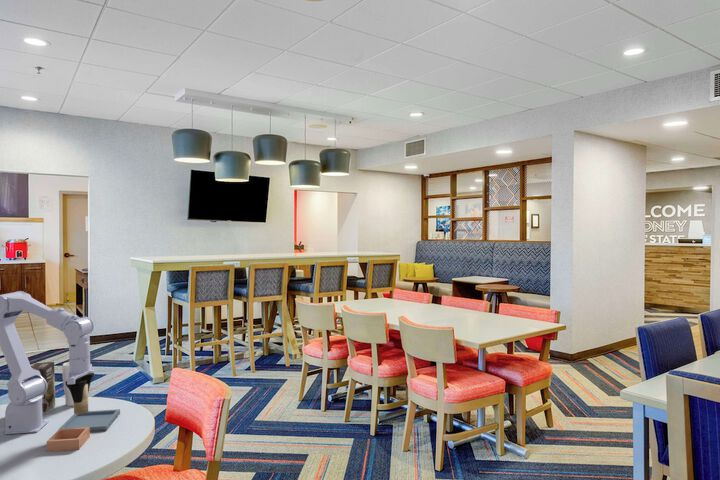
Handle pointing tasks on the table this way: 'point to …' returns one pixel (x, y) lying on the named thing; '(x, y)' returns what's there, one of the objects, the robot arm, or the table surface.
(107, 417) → the slate tray
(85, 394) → the maple peg
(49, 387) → the coffee box
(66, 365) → the white cylindrical piece
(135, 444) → the table surface
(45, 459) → the table surface
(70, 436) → the hollow square frame
